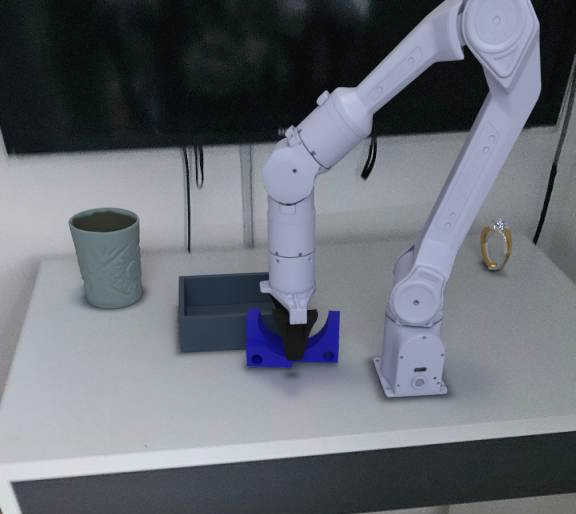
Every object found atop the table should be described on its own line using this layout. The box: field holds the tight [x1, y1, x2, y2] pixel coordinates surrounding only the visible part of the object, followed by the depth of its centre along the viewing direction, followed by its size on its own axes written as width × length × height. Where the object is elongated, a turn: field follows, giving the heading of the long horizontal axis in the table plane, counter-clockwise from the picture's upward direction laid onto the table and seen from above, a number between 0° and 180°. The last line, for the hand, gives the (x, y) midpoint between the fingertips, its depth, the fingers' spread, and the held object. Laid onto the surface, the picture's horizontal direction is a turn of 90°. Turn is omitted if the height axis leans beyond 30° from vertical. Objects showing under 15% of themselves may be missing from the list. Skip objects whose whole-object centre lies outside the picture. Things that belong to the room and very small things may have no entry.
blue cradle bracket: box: [245, 309, 341, 369], centre depth 100 cm, size 12×4×6 cm, turn 86°
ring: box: [480, 218, 513, 271], centre depth 123 cm, size 7×3×8 cm, turn 16°
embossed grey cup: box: [68, 207, 143, 310], centre depth 115 cm, size 10×10×12 cm
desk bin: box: [177, 271, 282, 353], centre depth 110 cm, size 14×18×5 cm
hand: (292, 348), depth 101 cm, fingers closed on blue cradle bracket, 5 cm apart
